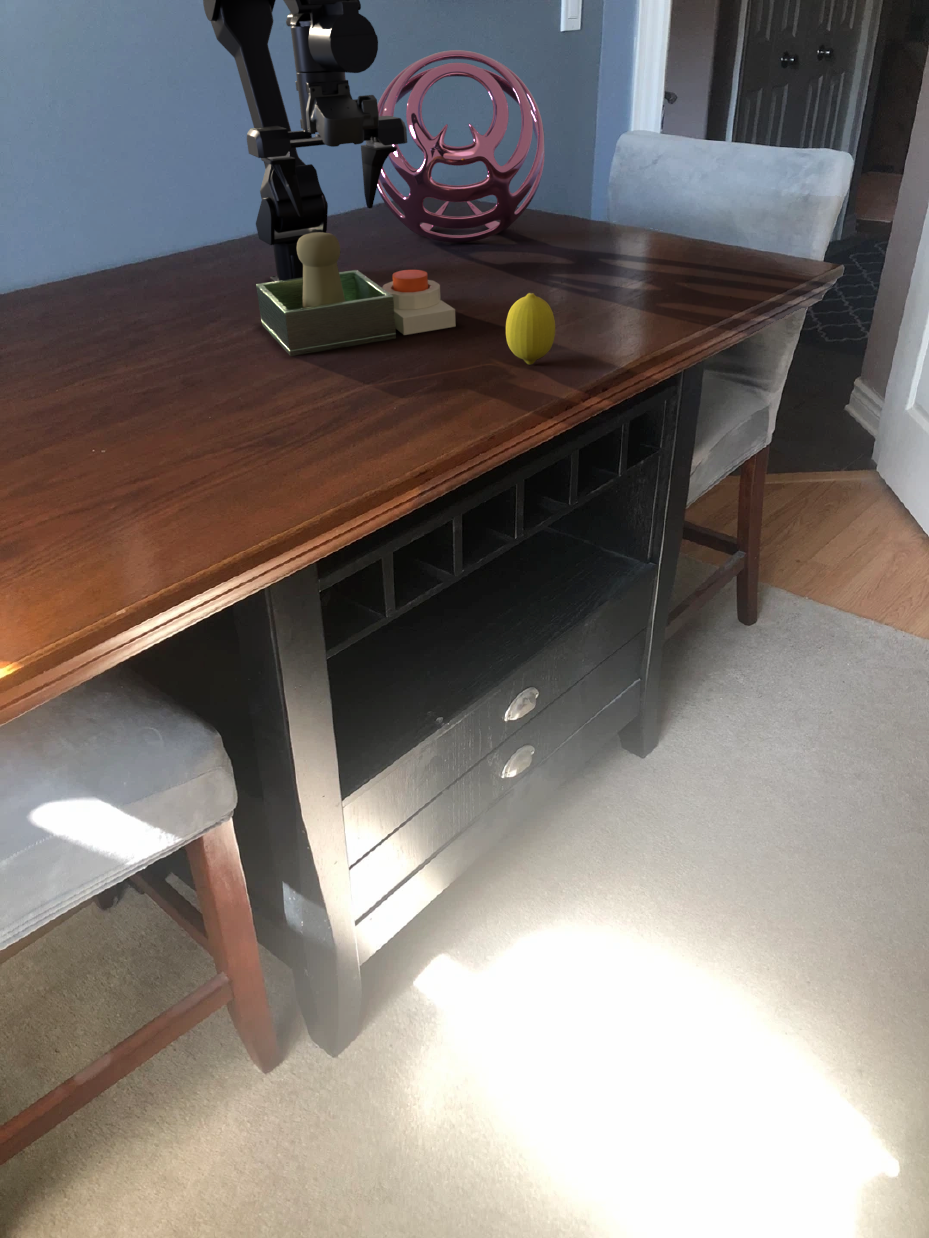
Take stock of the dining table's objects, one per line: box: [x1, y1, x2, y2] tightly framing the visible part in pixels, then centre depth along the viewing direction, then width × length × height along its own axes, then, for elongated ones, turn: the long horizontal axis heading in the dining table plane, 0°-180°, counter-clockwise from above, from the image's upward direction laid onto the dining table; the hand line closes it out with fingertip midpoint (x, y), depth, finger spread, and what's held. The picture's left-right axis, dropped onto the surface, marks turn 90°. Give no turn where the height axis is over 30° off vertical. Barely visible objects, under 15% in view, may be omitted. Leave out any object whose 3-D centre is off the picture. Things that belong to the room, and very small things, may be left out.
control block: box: [381, 279, 456, 336], centre depth 127 cm, size 12×7×4 cm, turn 24°
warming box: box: [255, 269, 397, 357], centre depth 123 cm, size 13×13×5 cm
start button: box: [392, 269, 429, 292], centre depth 125 cm, size 4×4×2 cm
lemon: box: [505, 292, 556, 365], centre depth 110 cm, size 6×6×8 cm
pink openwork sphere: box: [376, 49, 546, 244], centre depth 157 cm, size 28×28×27 cm
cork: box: [297, 232, 345, 308], centre depth 121 cm, size 6×6×11 cm
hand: (335, 212), depth 125 cm, fingers open, 9 cm apart
